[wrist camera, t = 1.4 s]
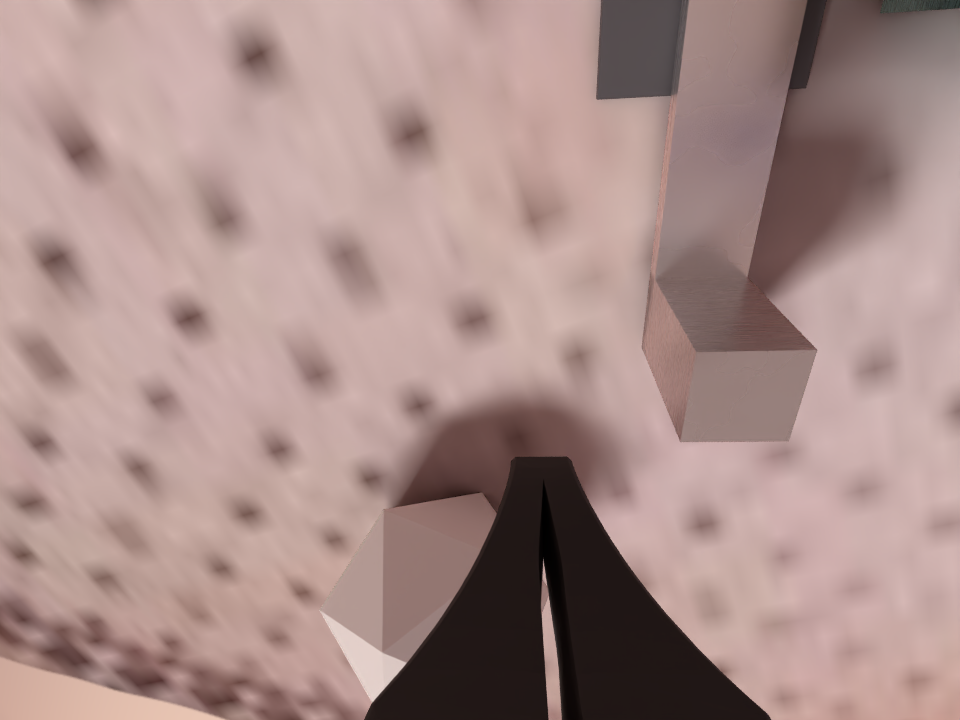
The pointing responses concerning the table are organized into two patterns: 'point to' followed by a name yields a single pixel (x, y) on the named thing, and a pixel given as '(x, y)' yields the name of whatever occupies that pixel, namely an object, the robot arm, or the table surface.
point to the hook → (726, 225)
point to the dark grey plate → (667, 47)
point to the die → (405, 583)
